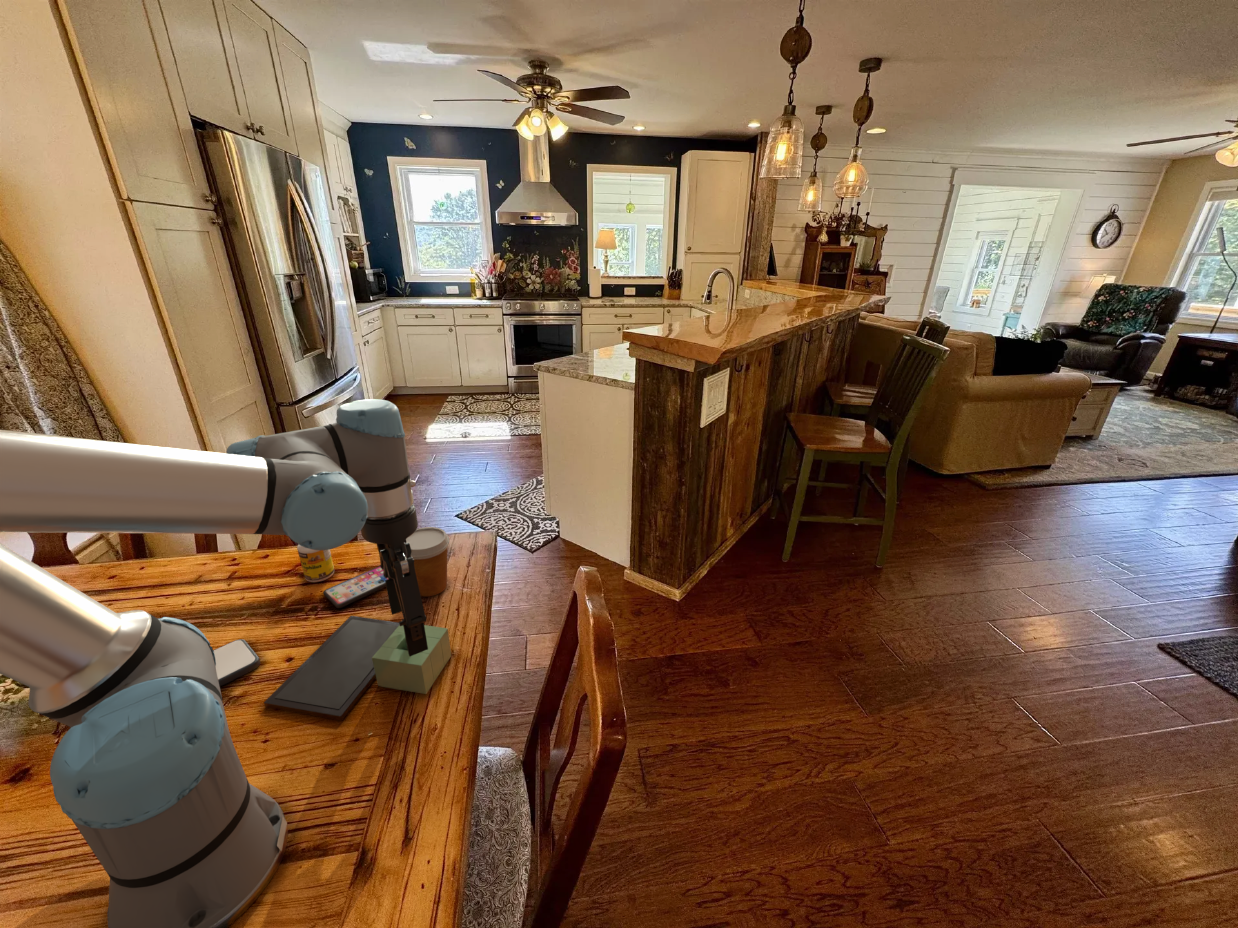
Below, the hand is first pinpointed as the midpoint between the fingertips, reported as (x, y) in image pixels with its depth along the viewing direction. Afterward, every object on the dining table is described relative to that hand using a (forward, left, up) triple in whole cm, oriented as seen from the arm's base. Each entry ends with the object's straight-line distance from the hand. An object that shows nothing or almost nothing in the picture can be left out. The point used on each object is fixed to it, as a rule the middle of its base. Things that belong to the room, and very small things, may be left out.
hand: (408, 629), depth 79 cm
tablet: (-1, +12, -9) cm, 15 cm away
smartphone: (+19, +22, -9) cm, 30 cm away
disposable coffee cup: (+21, +9, -9) cm, 24 cm away
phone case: (-9, +33, -9) cm, 35 cm away
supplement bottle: (+20, +34, -9) cm, 40 cm away
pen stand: (0, 0, -9) cm, 9 cm away
